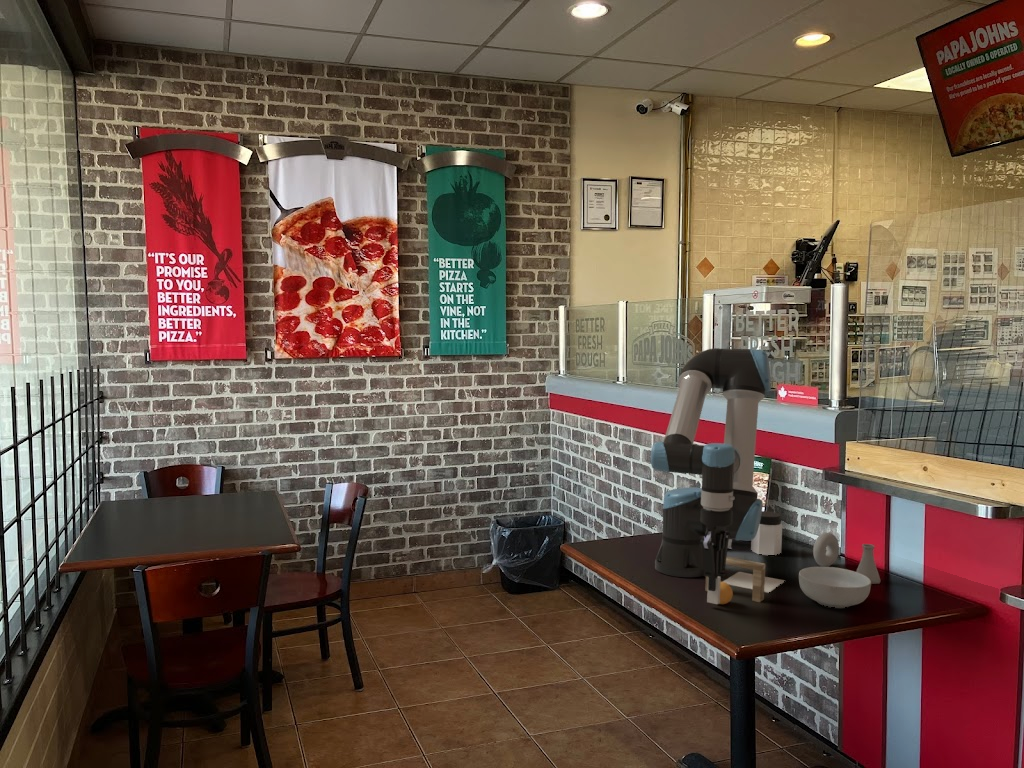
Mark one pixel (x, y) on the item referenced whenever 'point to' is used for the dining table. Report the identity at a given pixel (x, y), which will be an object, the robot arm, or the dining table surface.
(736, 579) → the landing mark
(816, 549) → the donut
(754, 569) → the bridge
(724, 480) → the robot arm
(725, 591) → the ball
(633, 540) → the dining table surface
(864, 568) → the flask
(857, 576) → the cereal bowl
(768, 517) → the jar
